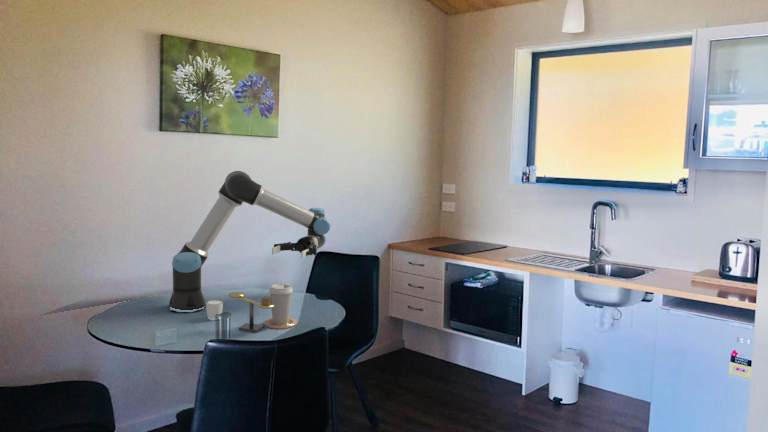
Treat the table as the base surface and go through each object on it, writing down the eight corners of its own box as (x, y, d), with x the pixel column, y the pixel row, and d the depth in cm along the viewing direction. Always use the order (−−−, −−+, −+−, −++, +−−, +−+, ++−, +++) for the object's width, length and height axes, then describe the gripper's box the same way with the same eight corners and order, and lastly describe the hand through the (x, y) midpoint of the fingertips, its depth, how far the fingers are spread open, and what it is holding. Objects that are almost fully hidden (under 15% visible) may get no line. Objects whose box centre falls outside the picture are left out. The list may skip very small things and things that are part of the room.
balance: (226, 328, 245) (226, 294, 243) (233, 323, 251) (233, 291, 249) (269, 334, 240) (270, 300, 238) (276, 329, 246) (277, 296, 244)
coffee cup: (287, 326, 247) (288, 290, 245) (265, 324, 249) (265, 288, 247) (295, 319, 257) (296, 284, 254) (274, 317, 259) (274, 282, 256)
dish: (258, 326, 249) (258, 324, 248) (273, 317, 261) (273, 315, 261) (288, 330, 245) (288, 328, 245) (301, 320, 258) (301, 319, 257)
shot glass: (226, 317, 258) (226, 301, 257) (215, 322, 252) (215, 305, 251) (213, 314, 261) (213, 298, 260) (202, 319, 255) (202, 303, 254)
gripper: (332, 255, 281) (314, 265, 261) (281, 249, 288) (260, 258, 268) (332, 239, 280) (315, 247, 260) (282, 233, 287) (261, 241, 266)
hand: (287, 253), depth 264 cm, fingers open, 13 cm apart
